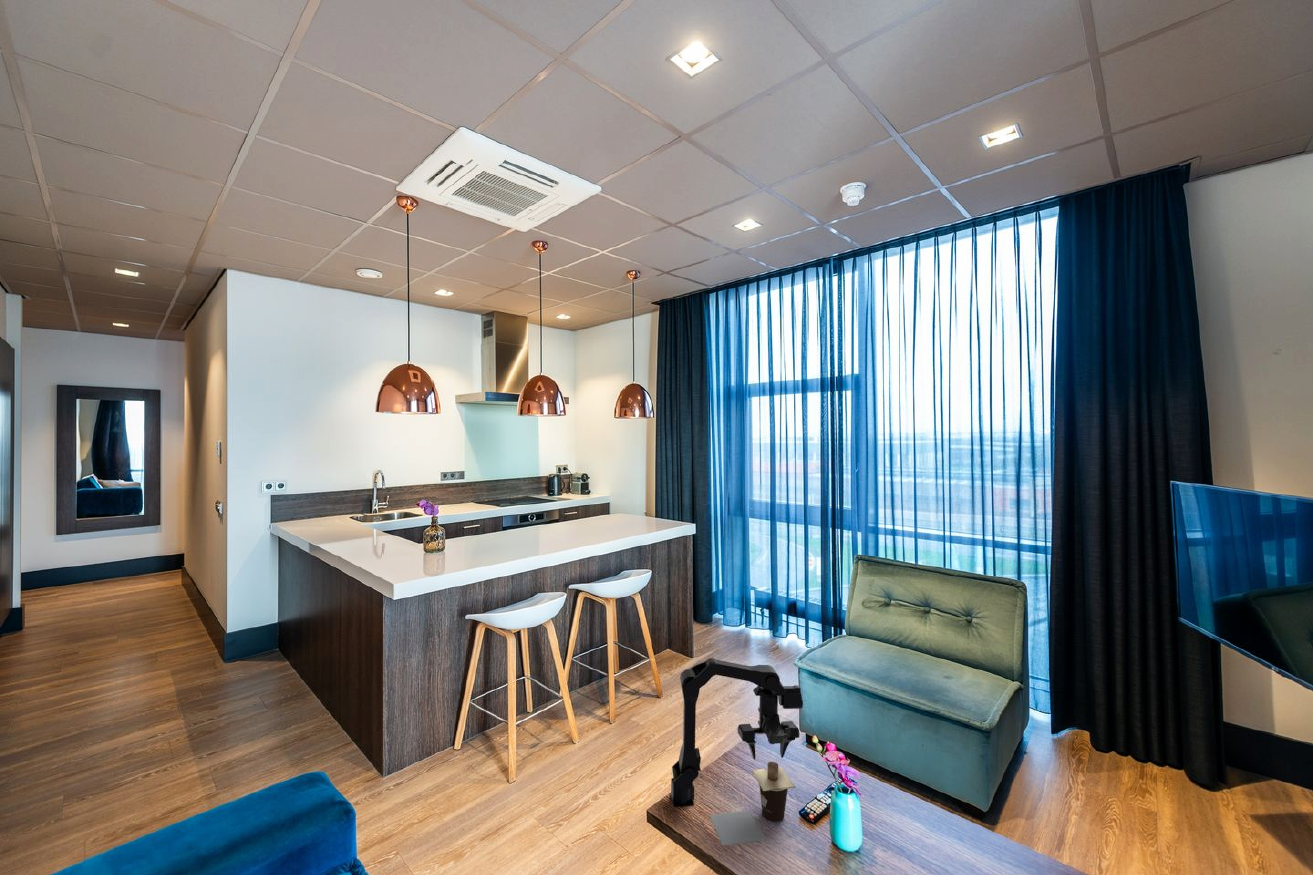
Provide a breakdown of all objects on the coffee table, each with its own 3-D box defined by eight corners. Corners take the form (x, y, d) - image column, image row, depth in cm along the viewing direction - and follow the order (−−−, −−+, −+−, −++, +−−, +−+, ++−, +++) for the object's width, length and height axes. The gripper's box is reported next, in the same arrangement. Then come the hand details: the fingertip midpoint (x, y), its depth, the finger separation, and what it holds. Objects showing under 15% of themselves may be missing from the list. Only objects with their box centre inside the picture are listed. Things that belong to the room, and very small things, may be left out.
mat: (722, 846, 153) (722, 845, 153) (709, 815, 165) (709, 814, 165) (766, 841, 155) (766, 839, 155) (750, 811, 168) (750, 810, 168)
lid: (763, 790, 162) (763, 775, 162) (751, 771, 172) (751, 756, 172) (795, 787, 164) (795, 772, 164) (781, 768, 173) (781, 754, 174)
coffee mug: (790, 825, 162) (791, 791, 162) (761, 824, 162) (761, 790, 162) (782, 800, 173) (782, 768, 174) (755, 799, 173) (755, 767, 174)
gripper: (748, 722, 165) (747, 775, 165) (807, 718, 168) (806, 770, 167) (737, 705, 176) (736, 754, 176) (792, 702, 179) (792, 750, 178)
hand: (768, 758), depth 174 cm, fingers open, 9 cm apart
